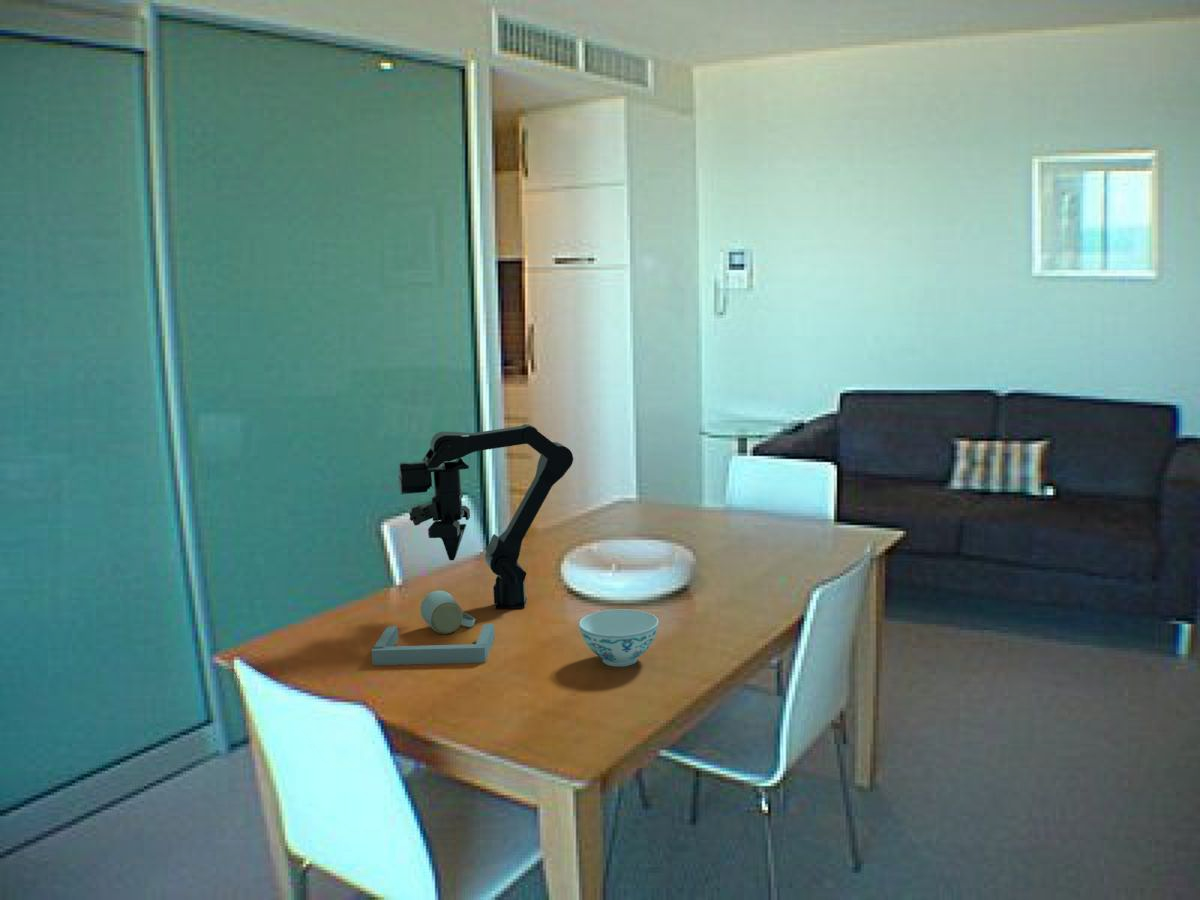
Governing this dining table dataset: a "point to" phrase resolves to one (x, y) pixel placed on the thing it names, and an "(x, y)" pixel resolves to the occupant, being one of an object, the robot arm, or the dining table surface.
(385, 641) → the mug dock
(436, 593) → the ceramic mug
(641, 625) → the chinaware
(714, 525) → the dining table surface
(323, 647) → the dining table surface
